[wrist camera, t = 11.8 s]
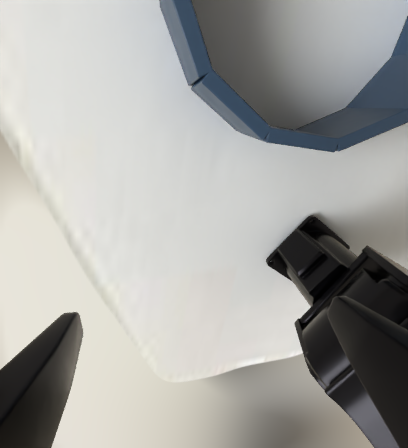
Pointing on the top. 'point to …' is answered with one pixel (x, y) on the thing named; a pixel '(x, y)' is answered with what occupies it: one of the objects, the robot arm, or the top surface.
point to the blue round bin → (311, 133)
